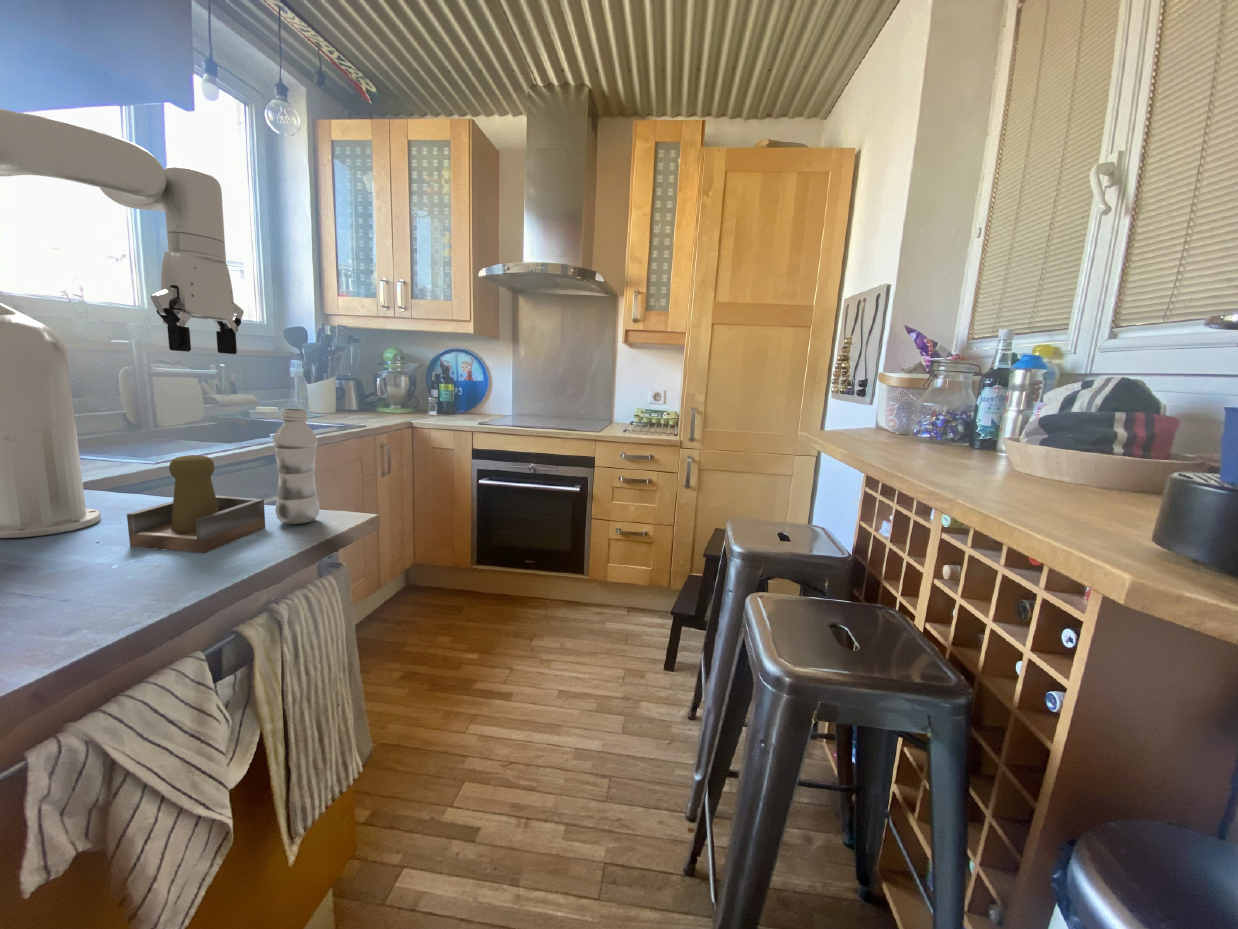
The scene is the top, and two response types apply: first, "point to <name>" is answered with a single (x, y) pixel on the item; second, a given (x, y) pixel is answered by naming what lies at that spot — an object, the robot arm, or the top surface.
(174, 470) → the cork
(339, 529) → the top surface
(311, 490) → the plastic bottle
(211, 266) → the robot arm
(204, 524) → the tray
